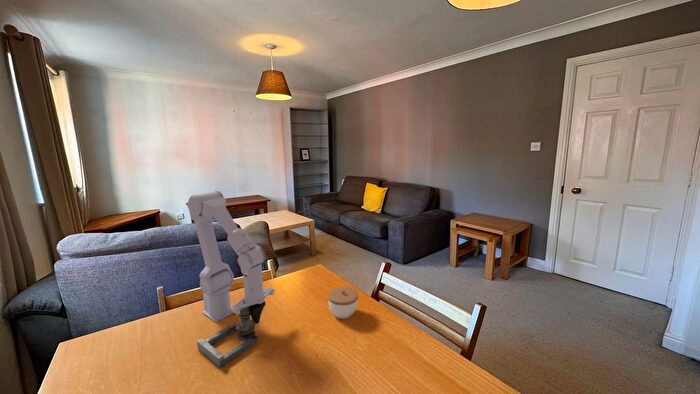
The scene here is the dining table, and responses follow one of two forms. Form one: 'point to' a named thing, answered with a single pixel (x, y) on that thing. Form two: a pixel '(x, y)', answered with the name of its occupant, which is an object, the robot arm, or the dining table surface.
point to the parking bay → (221, 359)
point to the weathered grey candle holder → (245, 325)
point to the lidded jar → (343, 301)
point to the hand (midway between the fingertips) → (256, 322)
